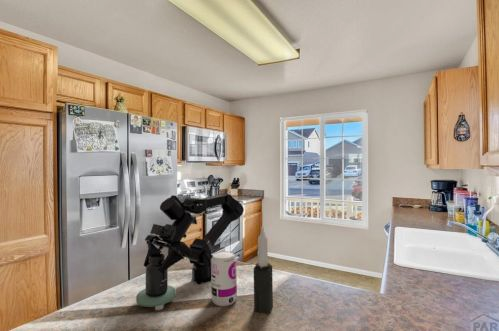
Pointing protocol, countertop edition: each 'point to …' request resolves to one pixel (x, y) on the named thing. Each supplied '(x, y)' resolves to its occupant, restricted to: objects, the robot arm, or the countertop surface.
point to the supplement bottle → (156, 276)
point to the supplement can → (223, 278)
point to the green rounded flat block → (155, 299)
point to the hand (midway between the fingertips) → (152, 269)
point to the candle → (263, 278)
